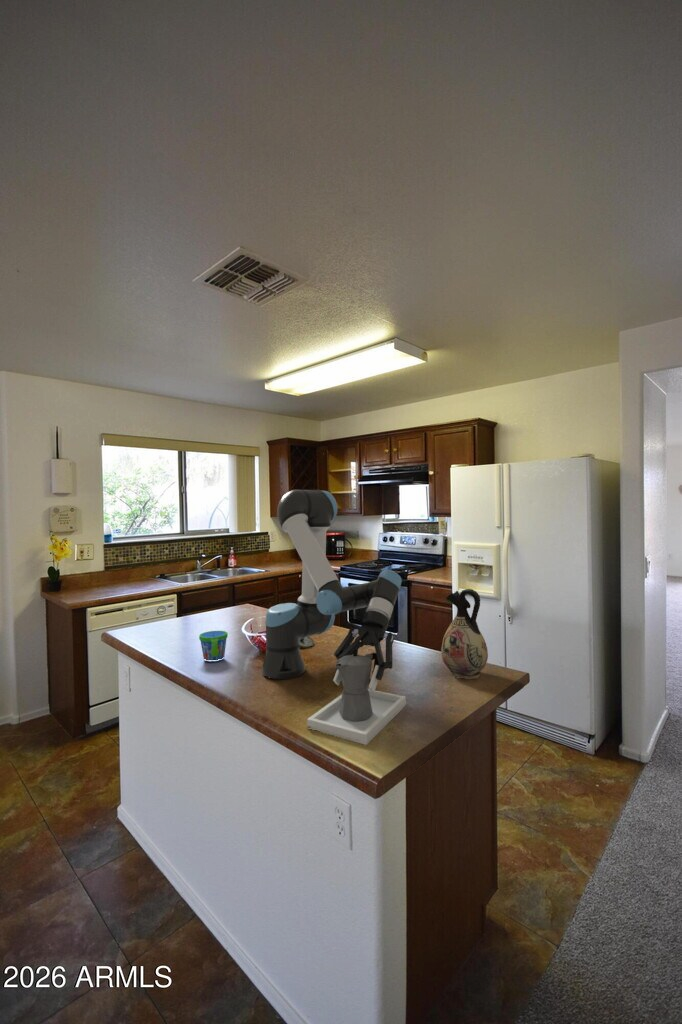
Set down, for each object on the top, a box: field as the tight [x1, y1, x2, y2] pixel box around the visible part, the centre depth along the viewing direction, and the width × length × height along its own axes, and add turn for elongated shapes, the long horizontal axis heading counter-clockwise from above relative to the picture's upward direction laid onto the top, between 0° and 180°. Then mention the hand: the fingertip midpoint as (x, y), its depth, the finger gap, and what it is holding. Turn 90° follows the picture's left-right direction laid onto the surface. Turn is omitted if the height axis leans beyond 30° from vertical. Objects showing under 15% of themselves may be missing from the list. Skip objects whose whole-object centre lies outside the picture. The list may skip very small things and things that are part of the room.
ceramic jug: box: [440, 588, 489, 680], centre depth 155 cm, size 17×15×30 cm
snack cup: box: [198, 630, 228, 660], centre depth 177 cm, size 16×10×10 cm
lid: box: [299, 636, 315, 649], centre depth 194 cm, size 11×10×5 cm
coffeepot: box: [334, 649, 379, 721], centre depth 127 cm, size 15×9×18 cm, turn 126°
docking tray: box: [306, 688, 407, 746], centre depth 126 cm, size 17×25×2 cm
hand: (353, 686), depth 124 cm, fingers open, 10 cm apart
